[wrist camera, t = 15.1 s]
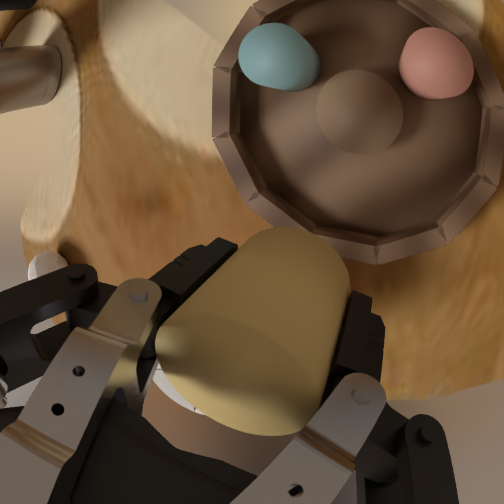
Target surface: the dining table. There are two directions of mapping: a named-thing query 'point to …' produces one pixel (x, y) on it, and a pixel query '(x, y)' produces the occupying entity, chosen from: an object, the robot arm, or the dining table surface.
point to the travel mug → (16, 4)
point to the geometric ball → (45, 264)
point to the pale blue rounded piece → (279, 58)
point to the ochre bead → (260, 333)
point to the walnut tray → (351, 181)
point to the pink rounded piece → (435, 65)
